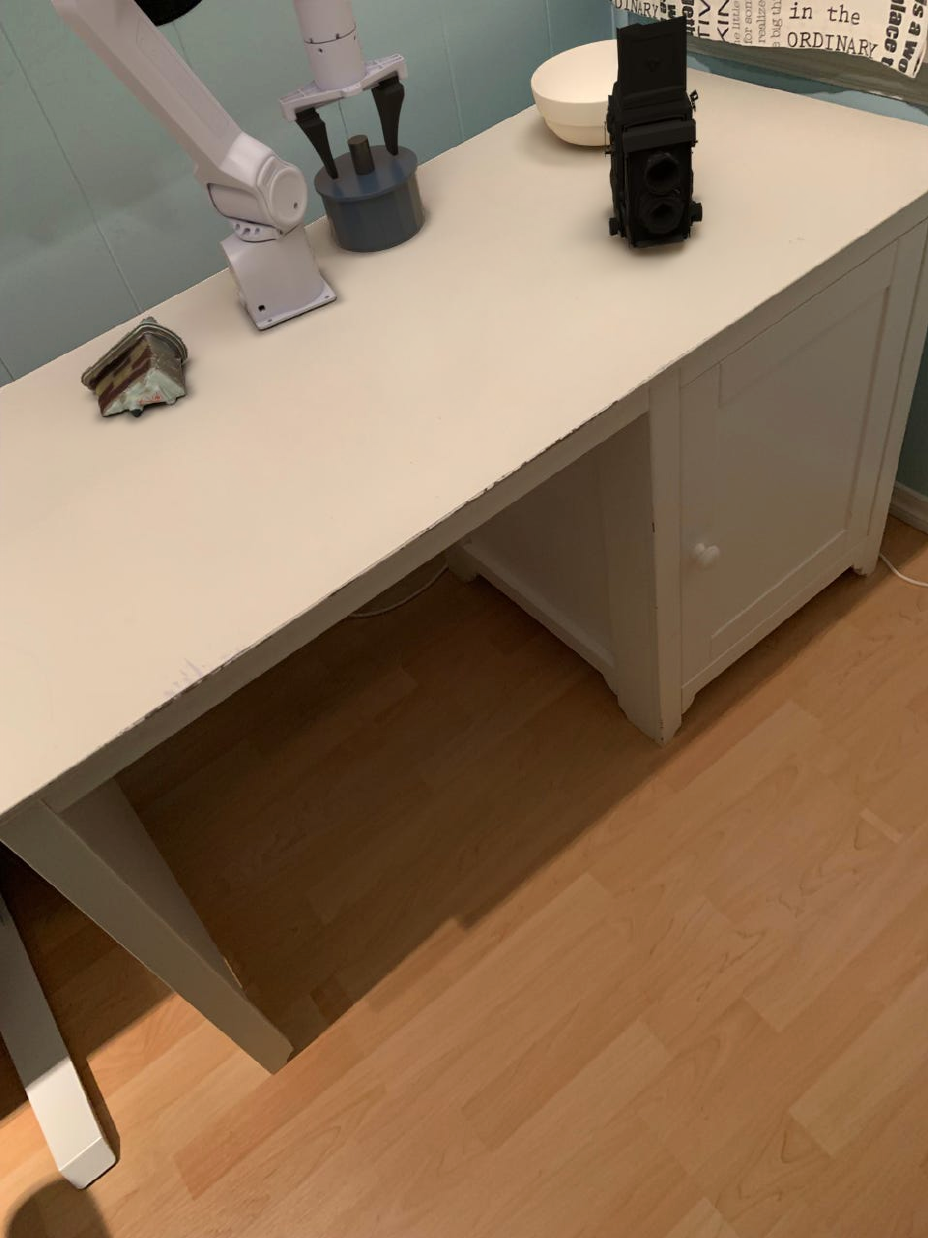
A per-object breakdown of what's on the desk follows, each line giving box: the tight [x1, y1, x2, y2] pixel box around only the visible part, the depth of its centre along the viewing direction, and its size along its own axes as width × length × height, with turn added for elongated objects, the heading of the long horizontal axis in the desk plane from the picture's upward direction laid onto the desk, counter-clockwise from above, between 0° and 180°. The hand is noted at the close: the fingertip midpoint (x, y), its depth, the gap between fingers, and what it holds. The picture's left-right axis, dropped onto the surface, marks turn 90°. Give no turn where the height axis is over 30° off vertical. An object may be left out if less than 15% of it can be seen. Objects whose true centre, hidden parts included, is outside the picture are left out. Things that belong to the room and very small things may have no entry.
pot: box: [320, 171, 426, 253], centre depth 106 cm, size 11×11×6 cm
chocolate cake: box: [80, 315, 189, 417], centre depth 93 cm, size 10×7×12 cm
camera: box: [604, 14, 703, 250], centre depth 89 cm, size 10×14×20 cm
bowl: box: [530, 38, 618, 147], centre depth 111 cm, size 18×18×7 cm
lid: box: [313, 134, 419, 202], centre depth 102 cm, size 12×12×5 cm
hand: (363, 163), depth 102 cm, fingers open, 7 cm apart
